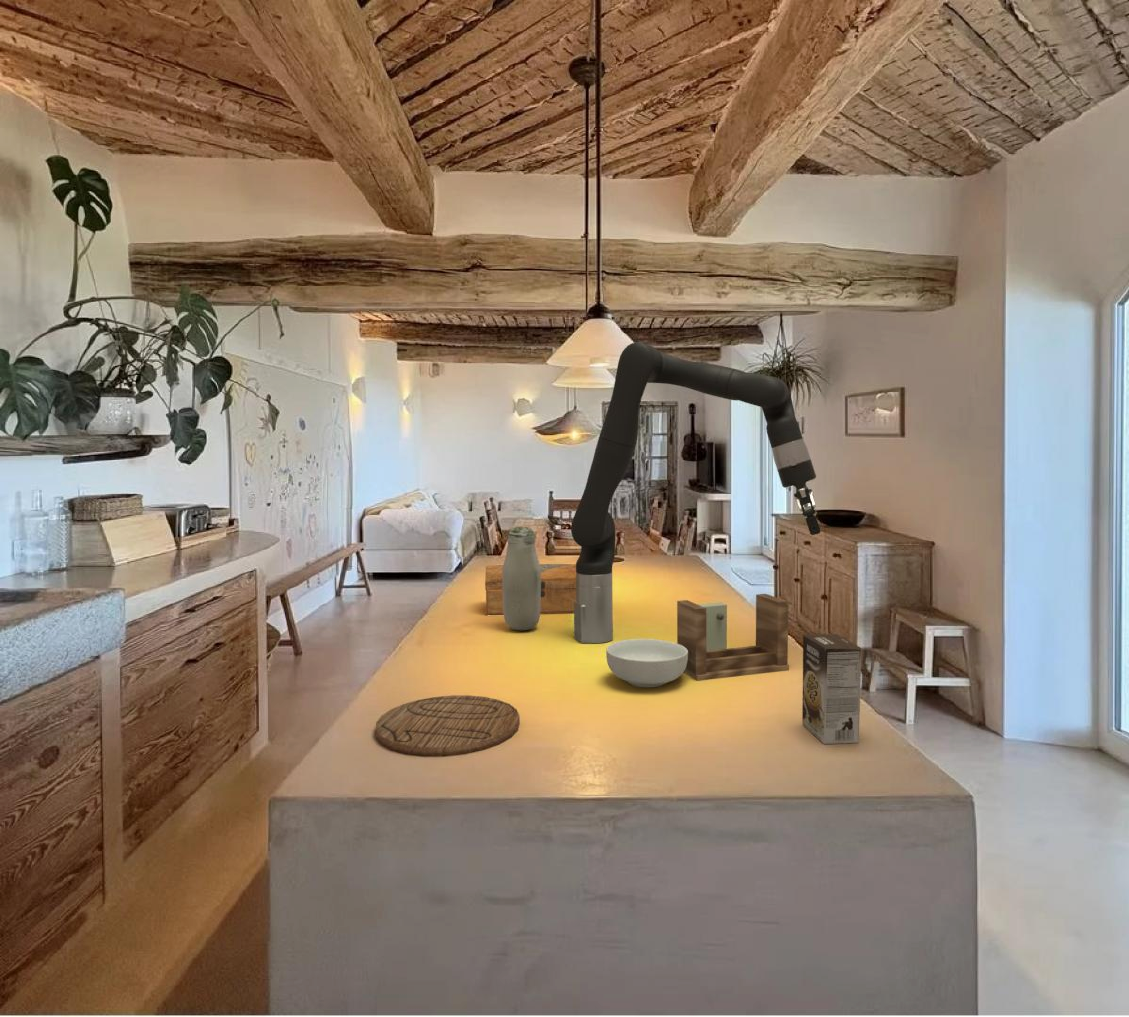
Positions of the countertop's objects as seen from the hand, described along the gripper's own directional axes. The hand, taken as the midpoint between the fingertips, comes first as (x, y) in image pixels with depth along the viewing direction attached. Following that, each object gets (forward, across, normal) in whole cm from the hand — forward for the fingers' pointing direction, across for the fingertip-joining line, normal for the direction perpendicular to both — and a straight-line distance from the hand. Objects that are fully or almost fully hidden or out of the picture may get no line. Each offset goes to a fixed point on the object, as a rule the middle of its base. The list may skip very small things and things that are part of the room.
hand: (815, 532), depth 165 cm
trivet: (+12, +57, -69) cm, 90 cm away
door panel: (+21, +1, -32) cm, 38 cm away
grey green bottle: (+5, -12, -80) cm, 81 cm away
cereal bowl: (+19, +23, -41) cm, 51 cm away
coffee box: (+30, +42, -8) cm, 53 cm away
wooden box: (+3, -37, -84) cm, 92 cm away
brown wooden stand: (+23, +9, -25) cm, 35 cm away
